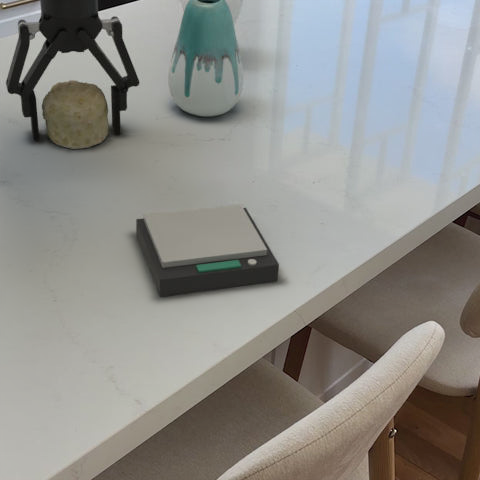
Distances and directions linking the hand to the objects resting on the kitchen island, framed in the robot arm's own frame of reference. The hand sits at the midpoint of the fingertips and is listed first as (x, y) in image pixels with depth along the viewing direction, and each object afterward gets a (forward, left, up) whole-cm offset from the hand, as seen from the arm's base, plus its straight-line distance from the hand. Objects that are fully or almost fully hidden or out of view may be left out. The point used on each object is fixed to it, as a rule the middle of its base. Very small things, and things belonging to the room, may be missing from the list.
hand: (76, 133), depth 130 cm
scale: (+10, -35, 0) cm, 36 cm away
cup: (+27, +25, 0) cm, 37 cm away
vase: (+21, +6, 0) cm, 22 cm away
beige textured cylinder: (0, 0, 0) cm, 0 cm away
